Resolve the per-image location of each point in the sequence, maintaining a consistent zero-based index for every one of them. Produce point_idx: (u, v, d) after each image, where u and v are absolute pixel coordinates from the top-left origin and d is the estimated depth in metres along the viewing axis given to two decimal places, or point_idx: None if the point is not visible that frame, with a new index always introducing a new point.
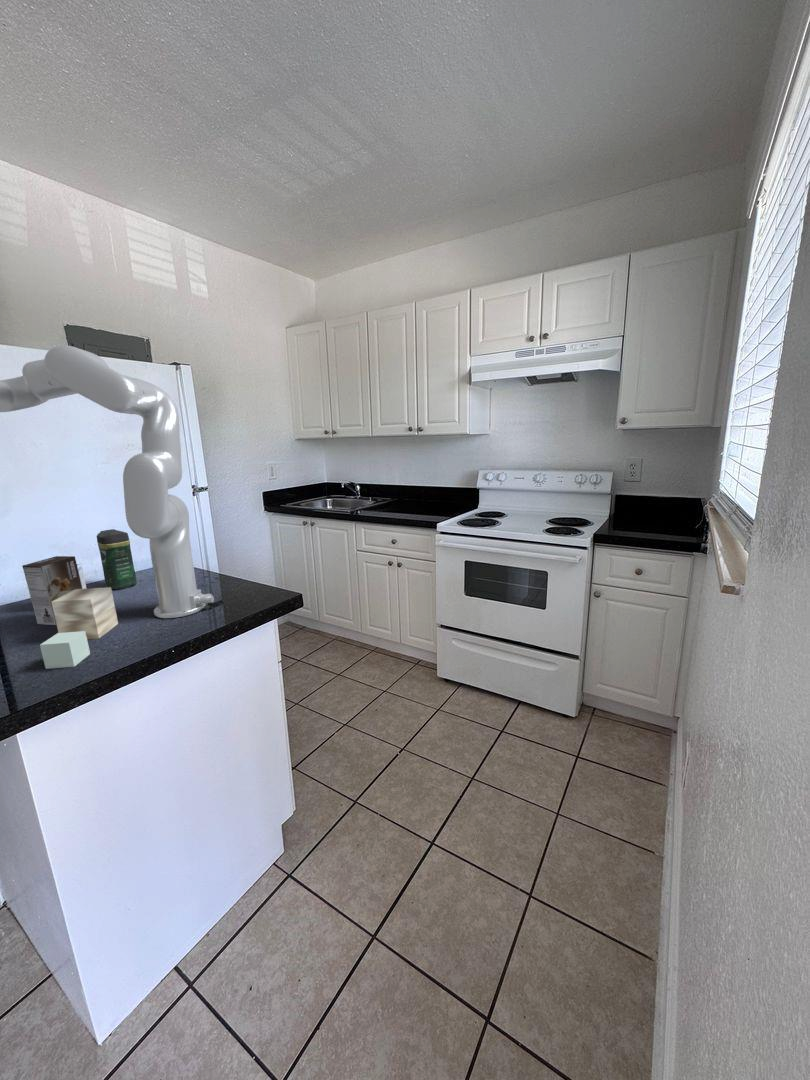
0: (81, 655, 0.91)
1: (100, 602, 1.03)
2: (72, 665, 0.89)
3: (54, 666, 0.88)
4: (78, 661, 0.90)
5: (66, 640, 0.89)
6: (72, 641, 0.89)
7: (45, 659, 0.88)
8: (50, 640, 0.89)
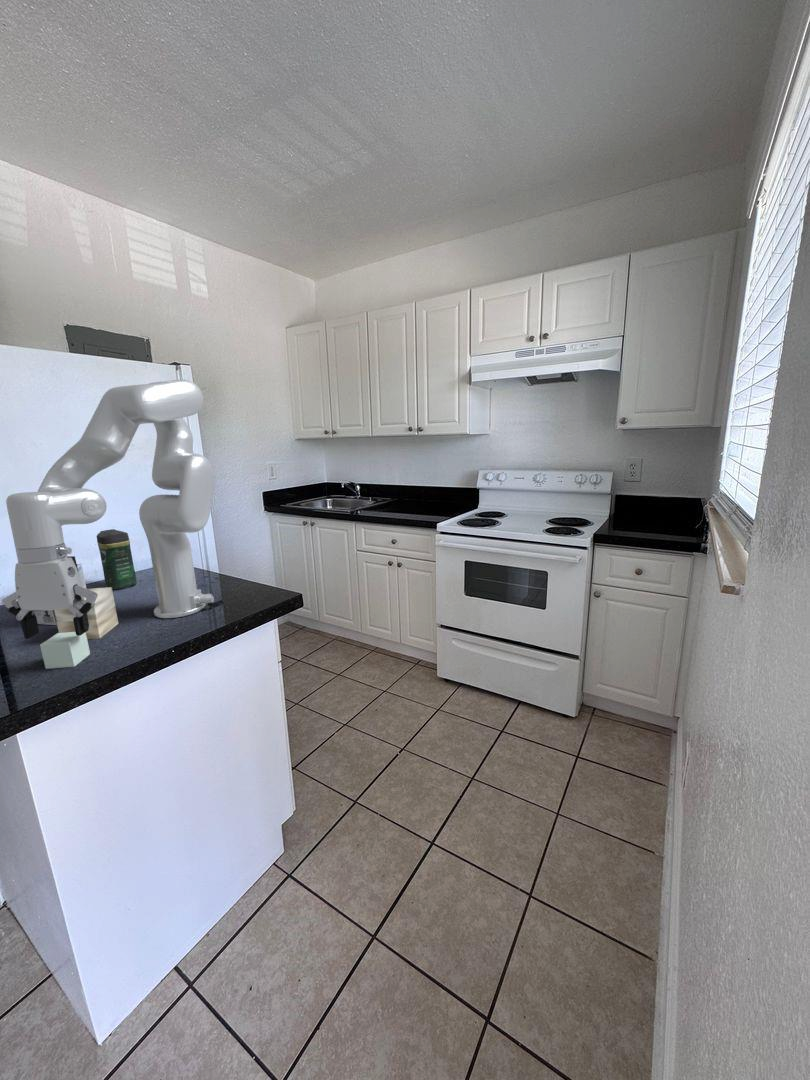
0: (81, 655, 0.91)
1: (102, 602, 1.03)
2: (72, 665, 0.89)
3: (54, 666, 0.88)
4: (78, 661, 0.90)
5: (66, 640, 0.89)
6: (72, 641, 0.89)
7: (45, 659, 0.88)
8: (50, 640, 0.89)
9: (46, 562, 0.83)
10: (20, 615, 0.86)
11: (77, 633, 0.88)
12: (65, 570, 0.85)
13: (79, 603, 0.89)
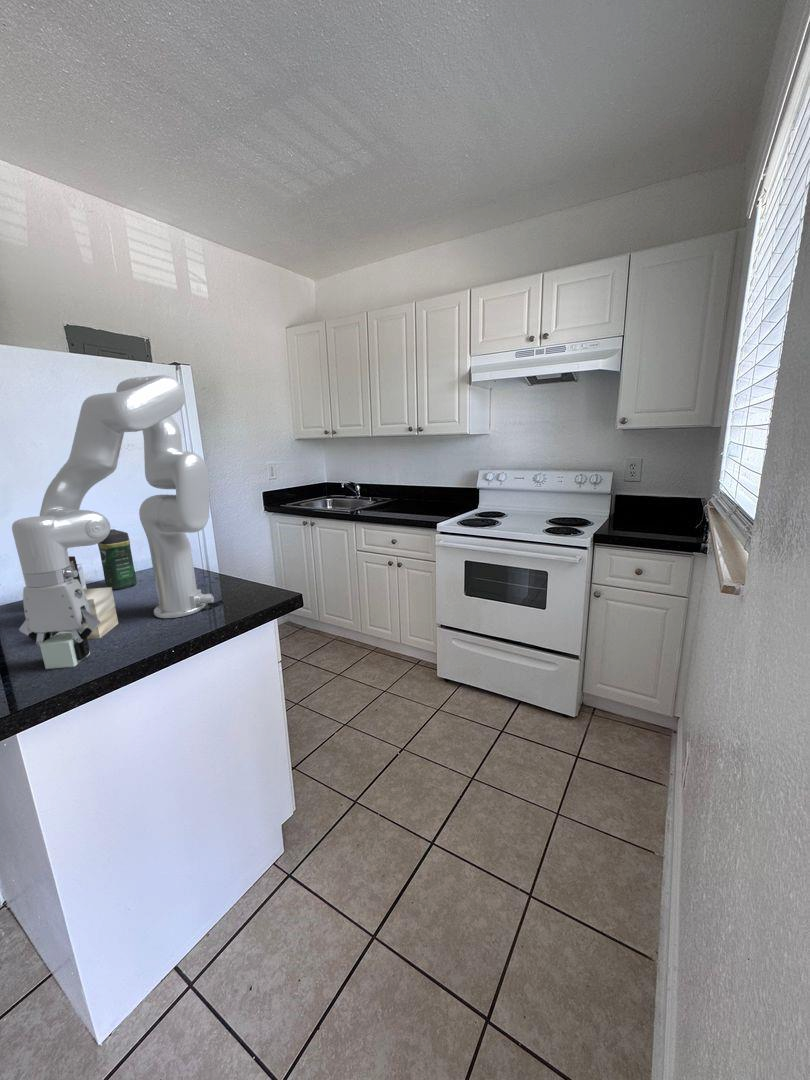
0: None
1: (102, 602, 1.03)
2: (72, 665, 0.89)
3: (54, 666, 0.88)
4: (78, 661, 0.90)
5: (66, 640, 0.89)
6: (72, 641, 0.89)
7: (45, 659, 0.88)
8: (50, 640, 0.89)
9: (53, 586, 0.85)
10: (39, 640, 0.88)
11: (78, 658, 0.90)
12: (72, 593, 0.87)
13: (82, 627, 0.91)
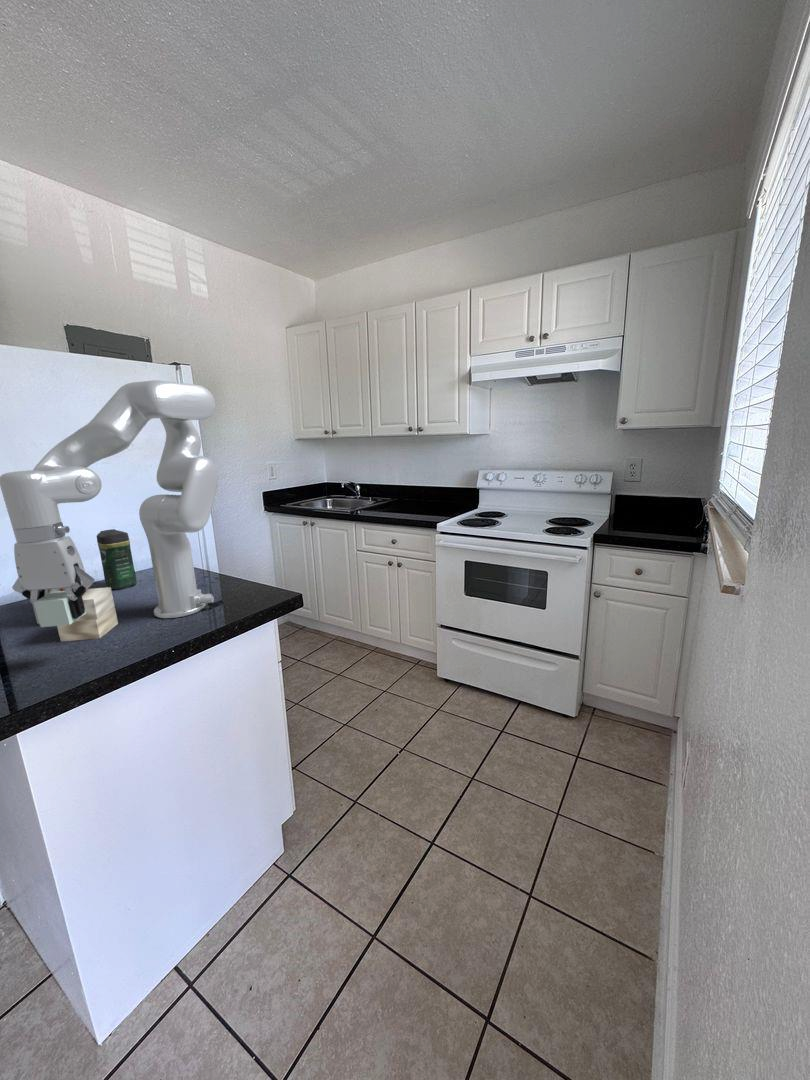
0: None
1: (102, 602, 1.03)
2: (67, 623, 0.87)
3: (49, 624, 0.87)
4: (73, 620, 0.89)
5: (60, 598, 0.87)
6: (66, 599, 0.87)
7: (39, 617, 0.87)
8: (44, 598, 0.87)
9: (44, 541, 0.83)
10: (33, 598, 0.87)
11: (73, 616, 0.88)
12: (64, 549, 0.85)
13: (76, 585, 0.89)
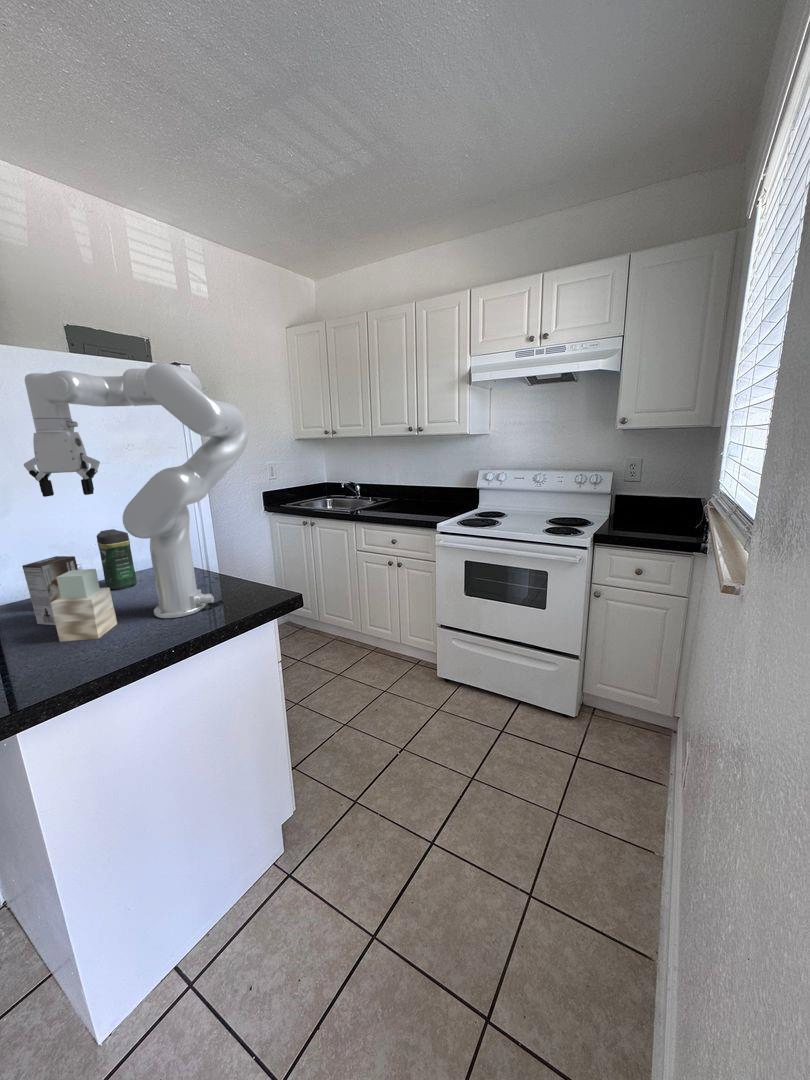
0: (92, 589, 1.03)
1: (100, 602, 1.03)
2: (85, 596, 1.00)
3: (69, 597, 1.00)
4: (90, 594, 1.02)
5: (79, 574, 1.00)
6: (84, 575, 1.00)
7: (61, 590, 0.99)
8: (65, 574, 1.00)
9: (58, 430, 1.05)
10: (38, 476, 1.08)
11: (84, 492, 1.10)
12: (73, 439, 1.07)
13: (85, 470, 1.11)
